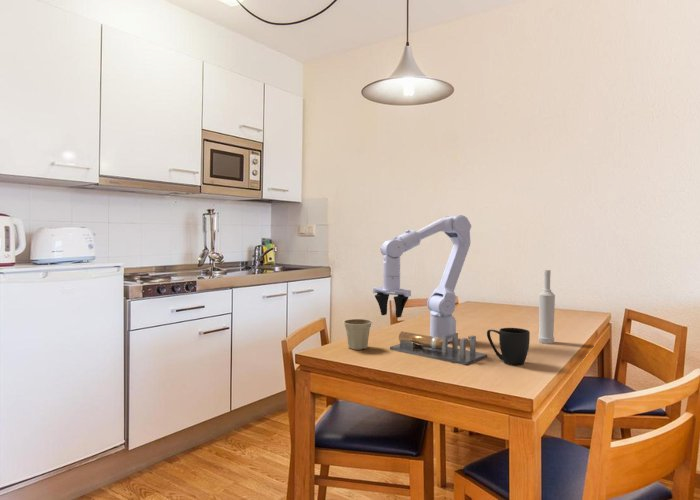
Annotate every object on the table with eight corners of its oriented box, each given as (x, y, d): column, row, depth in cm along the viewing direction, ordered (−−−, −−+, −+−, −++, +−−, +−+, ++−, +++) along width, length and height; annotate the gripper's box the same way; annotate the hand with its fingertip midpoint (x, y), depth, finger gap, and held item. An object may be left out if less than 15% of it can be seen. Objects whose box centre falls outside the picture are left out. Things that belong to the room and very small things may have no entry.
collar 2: (471, 356, 142) (472, 335, 141) (475, 357, 141) (475, 335, 141) (459, 361, 136) (460, 339, 136) (463, 361, 135) (463, 339, 135)
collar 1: (454, 352, 146) (454, 332, 145) (457, 353, 145) (457, 333, 145) (441, 357, 140) (442, 336, 140) (445, 358, 139) (445, 336, 139)
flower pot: (347, 352, 146) (347, 324, 146) (340, 345, 155) (340, 319, 155) (375, 350, 148) (376, 323, 148) (367, 343, 158) (367, 318, 157)
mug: (492, 355, 142) (493, 324, 142) (533, 362, 135) (533, 330, 135) (481, 361, 136) (482, 328, 136) (523, 368, 128) (524, 334, 128)
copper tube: (398, 343, 153) (398, 332, 153) (405, 341, 156) (405, 330, 156) (441, 351, 142) (441, 339, 142) (447, 349, 145) (447, 337, 145)
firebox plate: (413, 342, 159) (413, 335, 159) (487, 356, 141) (487, 348, 141) (389, 349, 150) (390, 341, 150) (466, 365, 132) (466, 356, 132)
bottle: (555, 344, 158) (557, 270, 158) (539, 343, 159) (540, 270, 159) (552, 341, 163) (553, 269, 163) (536, 340, 164) (537, 269, 164)
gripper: (367, 275, 159) (367, 314, 159) (402, 278, 149) (401, 320, 149) (380, 274, 164) (380, 312, 164) (414, 276, 154) (414, 317, 155)
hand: (391, 316), depth 157 cm, fingers open, 6 cm apart
